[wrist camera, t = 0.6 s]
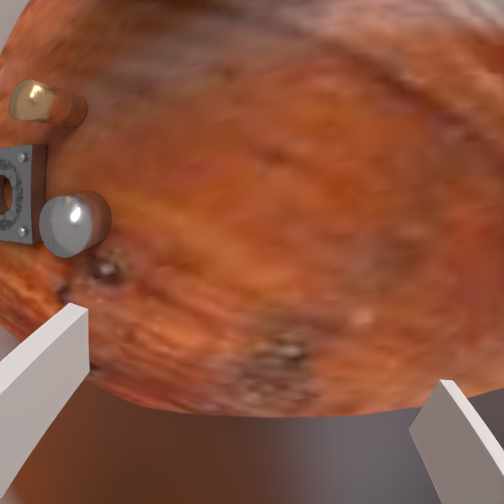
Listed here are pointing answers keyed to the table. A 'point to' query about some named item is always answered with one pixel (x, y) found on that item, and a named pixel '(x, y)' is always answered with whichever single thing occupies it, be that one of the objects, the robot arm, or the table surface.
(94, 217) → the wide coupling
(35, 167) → the flange socket
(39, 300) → the table surface
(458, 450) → the robot arm
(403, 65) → the table surface
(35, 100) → the brass peg
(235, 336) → the table surface
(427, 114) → the table surface
